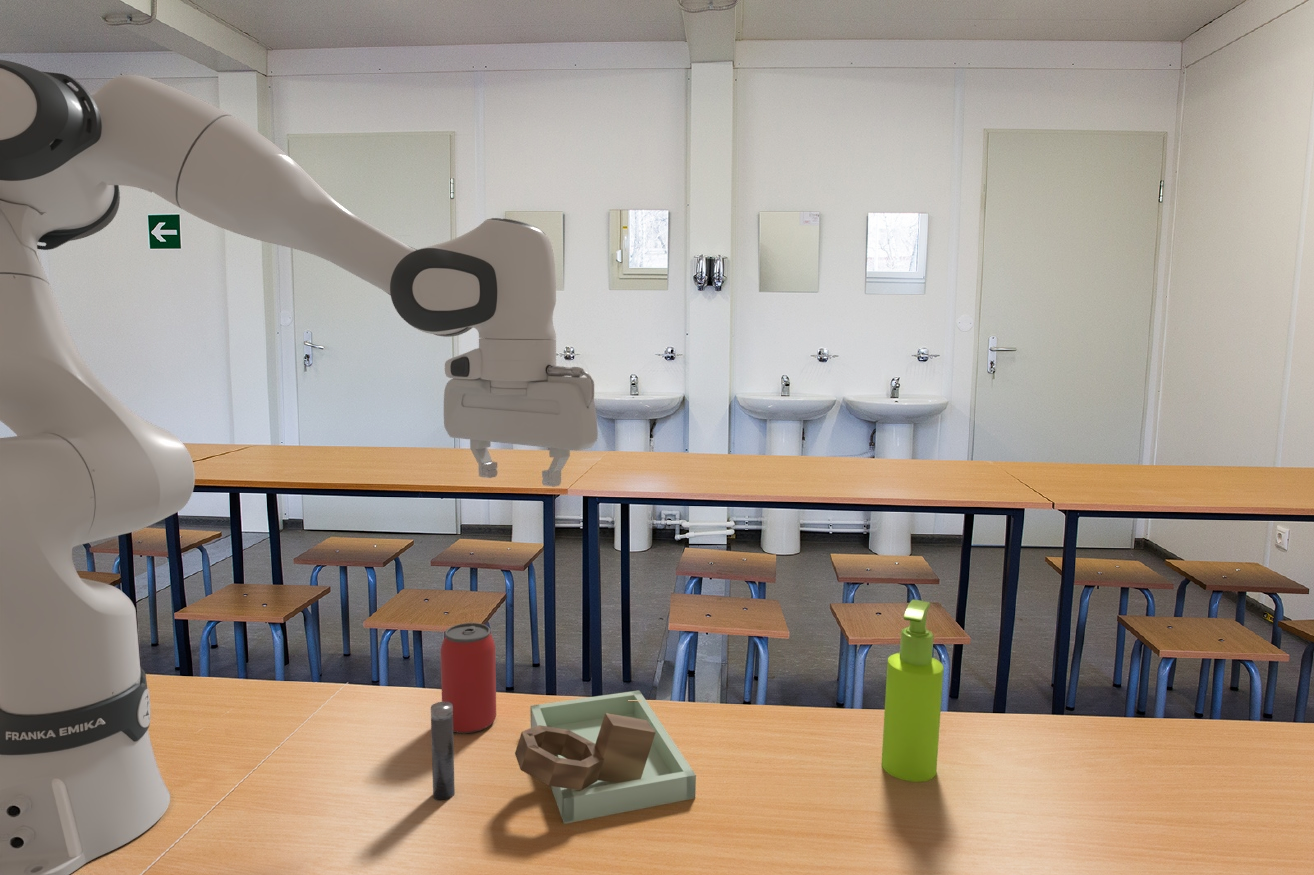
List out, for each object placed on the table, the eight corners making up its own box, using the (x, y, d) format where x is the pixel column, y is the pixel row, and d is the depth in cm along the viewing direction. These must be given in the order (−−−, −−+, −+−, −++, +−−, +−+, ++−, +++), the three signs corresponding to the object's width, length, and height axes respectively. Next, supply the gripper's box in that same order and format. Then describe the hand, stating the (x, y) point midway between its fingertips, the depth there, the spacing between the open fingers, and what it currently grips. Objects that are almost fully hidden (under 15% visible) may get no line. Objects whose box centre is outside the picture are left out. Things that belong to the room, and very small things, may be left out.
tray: (563, 827, 77) (563, 798, 77) (530, 729, 96) (530, 705, 96) (695, 802, 82) (695, 775, 81) (638, 713, 101) (639, 690, 100)
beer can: (502, 711, 101) (501, 622, 99) (486, 737, 94) (485, 642, 92) (453, 708, 101) (451, 619, 100) (434, 734, 95) (431, 640, 93)
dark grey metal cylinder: (433, 803, 81) (431, 713, 80) (432, 791, 83) (430, 703, 82) (455, 799, 82) (453, 710, 80) (453, 788, 84) (451, 700, 82)
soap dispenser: (874, 783, 86) (884, 609, 83) (887, 753, 92) (896, 590, 89) (929, 799, 83) (942, 619, 80) (939, 767, 89) (951, 599, 86)
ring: (511, 742, 84) (528, 689, 84) (622, 760, 89) (638, 710, 89) (524, 782, 76) (543, 723, 76) (646, 799, 81) (664, 744, 81)
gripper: (608, 366, 88) (607, 486, 90) (469, 360, 98) (471, 468, 100) (577, 368, 83) (577, 496, 85) (433, 362, 92) (436, 476, 94)
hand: (519, 481), depth 92 cm, fingers open, 8 cm apart
